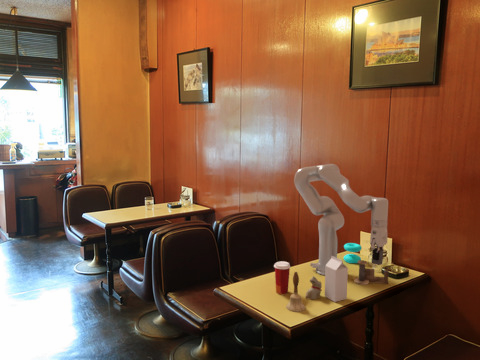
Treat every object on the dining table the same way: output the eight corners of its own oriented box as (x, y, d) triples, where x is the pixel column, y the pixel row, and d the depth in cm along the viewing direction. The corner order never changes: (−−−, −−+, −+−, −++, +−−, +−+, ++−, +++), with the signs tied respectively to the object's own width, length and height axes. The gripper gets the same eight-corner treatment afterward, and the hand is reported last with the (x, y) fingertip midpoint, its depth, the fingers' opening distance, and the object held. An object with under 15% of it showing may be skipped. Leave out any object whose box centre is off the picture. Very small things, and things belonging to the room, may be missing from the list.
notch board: (359, 281, 197) (359, 270, 196) (358, 278, 202) (359, 266, 201) (388, 284, 194) (389, 272, 193) (387, 280, 199) (387, 269, 198)
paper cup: (291, 289, 187) (291, 262, 185) (288, 296, 180) (288, 267, 178) (275, 287, 190) (276, 260, 188) (271, 294, 183) (272, 265, 181)
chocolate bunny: (323, 299, 177) (323, 278, 175) (305, 299, 177) (306, 278, 176) (320, 294, 182) (321, 273, 181) (304, 294, 182) (304, 273, 181)
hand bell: (283, 309, 167) (283, 273, 165) (290, 301, 174) (291, 267, 172) (300, 313, 163) (301, 277, 161) (308, 306, 170) (309, 271, 168)
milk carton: (334, 302, 173) (336, 261, 171) (324, 296, 180) (325, 257, 177) (346, 299, 177) (348, 259, 174) (336, 293, 183) (337, 254, 181)
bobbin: (354, 284, 194) (355, 263, 193) (353, 279, 201) (354, 258, 199) (369, 285, 192) (370, 264, 191) (368, 280, 199) (368, 259, 198)
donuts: (360, 242, 231) (362, 247, 221) (359, 258, 232) (362, 264, 222) (343, 242, 232) (344, 246, 223) (342, 258, 234) (344, 263, 224)
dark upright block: (379, 265, 191) (380, 250, 189) (371, 263, 193) (372, 248, 192) (382, 263, 193) (383, 248, 192) (374, 261, 196) (375, 246, 195)
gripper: (379, 227, 182) (377, 264, 184) (393, 221, 194) (391, 256, 196) (364, 224, 187) (362, 261, 189) (379, 218, 199) (377, 253, 201)
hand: (377, 258), depth 193 cm, fingers closed on dark upright block, 3 cm apart
